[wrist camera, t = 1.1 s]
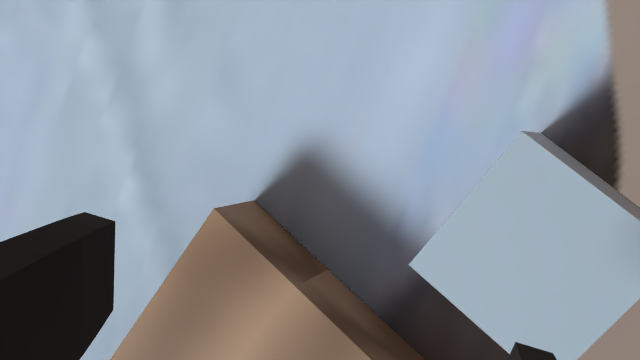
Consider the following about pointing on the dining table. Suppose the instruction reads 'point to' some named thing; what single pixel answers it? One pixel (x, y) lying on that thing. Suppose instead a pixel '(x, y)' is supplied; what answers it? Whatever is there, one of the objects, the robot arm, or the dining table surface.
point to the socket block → (256, 302)
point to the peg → (538, 251)
